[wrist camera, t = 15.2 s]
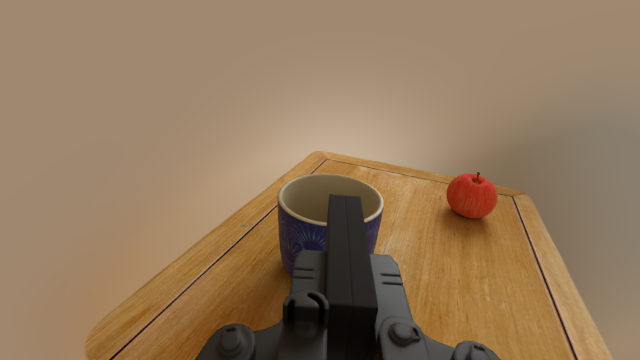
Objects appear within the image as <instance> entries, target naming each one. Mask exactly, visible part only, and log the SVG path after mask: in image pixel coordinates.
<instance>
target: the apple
mask: <svg viewBox="0 0 640 360" xmlns="http://www.w3.org/2000/svg"><path fill="white" fill-rule="evenodd" d="M479 175H480V173H479V172H477V175H476V174H463V175H460V176H457V177H456V178H454V179H453V180H452V181H451V183H450V184H449V186H448V188H447V200H448V203H449V205H450V206H451V208H452V209H453V210H454V211H455V212H457V213H458V214H461V215H463V216H465V217H467V218H481V217H484V216H486V215H488V214H489V213H490V212H491V211H492V210H493V209H494V207H495V205H496V203H497V192H496V189H495V187H494V185H493V184H492V183H491V182H490V181H488V180H487V179H485V178H483V177H481V176H479Z"/></svg>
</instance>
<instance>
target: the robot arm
mask: <svg viewBox="0 0 640 360" xmlns="http://www.w3.org/2000/svg"><path fill="white" fill-rule="evenodd" d="M195 360H501V359H500V358H499V357H498V356H497V355H496V354H495V353H494V352H493V351H492V350H490V349H489V348H487V347H486V346H484V345H482V344H480V343H477V342H474V341H463V342H461V343H458V344H457V346H456V348H453V347H450V346H448V345H445V344H442V343H440V342H437V341H435V340H433V339H431V338H429V337H428V336H426V335H425V334H423V332H422V330H421V328H420V327H419V326H418V325H417V324H416V323H415V322H414V321H413V318H412V315H411V311H410V308H409V304H408V300H407V297H406V293H405V289H404V286H403V282H402V278H401V275H400V271H399V268H398V265H397V263H396V262H395V261H394V260H393V258H392V257H391V256H390V255H377V254H370V253H369V246H368V240H367V234H366V228H365V222H364V216H363V210H362V203H361V197H359V196H346V195H333V194H329V203H328V214H327V226H326V237H325V251H314V250H302V251H301V252H300V253H299V254H298V256H297V257H296V259H295V265H294V271H293V278H292V283H291V289H290V295H289V296H288V297H287V298H286V299H285V302H284V304H283V319H282V320H281V321H280V322H279V323H277V324H276V325H274V326H272V327H270V328H267V329H263V330H259V331H254V332H252V330H251V329H250V328H248V327H247V326H245V325H242V324H230V325H226V326H224V327H222V328H220V329H218V330H217V331H216V332H215V333H214V334H213V335H212V336H211V337H210V338H209V340H208V341H207V343H206V344H205V346H204V347H203V348H202V350H201V351H200V353H199V354H198V356H197V357H196V359H195Z"/></svg>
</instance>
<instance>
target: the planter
mask: <svg viewBox="0 0 640 360" xmlns="http://www.w3.org/2000/svg"><path fill="white" fill-rule="evenodd" d="M329 194H333V195H346V196H359V197H361V203H362V210H363V216H364V222H365V228H366V234H367V240H368V246H369V253H370V254H373V253H374V249H375V245H376V240H377V236H378V231H379V227H380V222H381V217H382V213H383V208H384V201H383V198H382V196H381V194H380V193H379V192H378V191H377V190H376V189H375V188H374V187H372V186H371V185H369V184H367V183H365V182H363V181H361V180H358V179H356V178H352V177H349V176H344V175H338V174H310V175H304V176H300V177H297V178H295V179H292V180H290V181H288V182H287V183H285V184H284V185H283V186H282V187H281V188H280V190H279V192H278V197H277V198H278V223H279V241H280V251H281V257H282V261H283V264H284V267H285V269H286V271H287V273H288V274H289V275H290V277H291V278H293V271H294V265H295V259H296V257H297V256H298V254H299V253H300V252H301V251H302V250H314V251H325V237H326V226H327V214H328V203H329Z"/></svg>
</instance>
